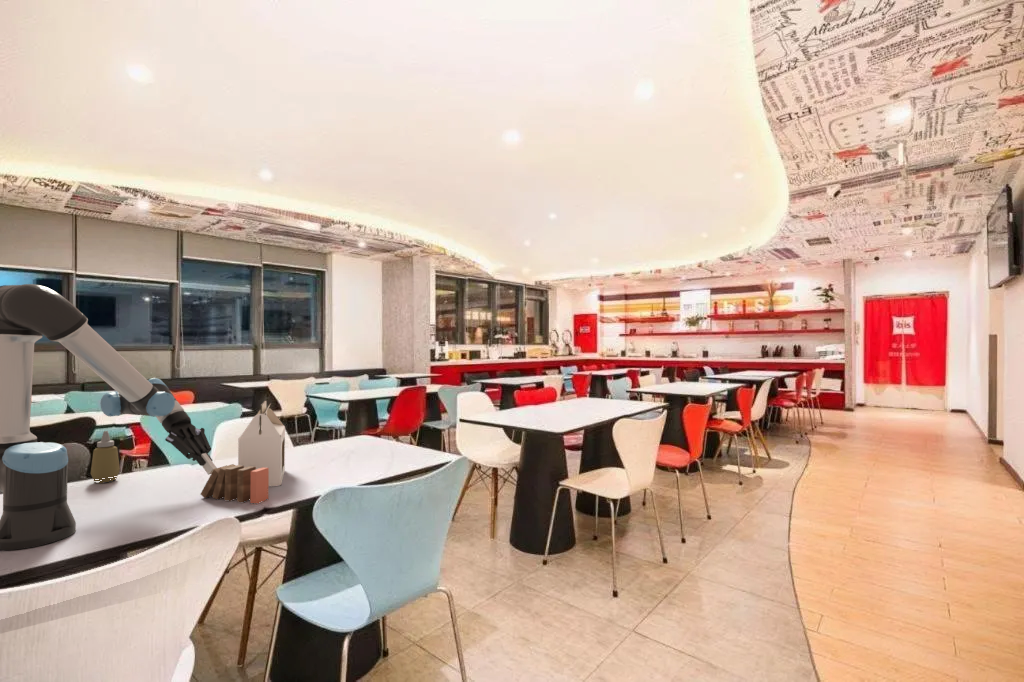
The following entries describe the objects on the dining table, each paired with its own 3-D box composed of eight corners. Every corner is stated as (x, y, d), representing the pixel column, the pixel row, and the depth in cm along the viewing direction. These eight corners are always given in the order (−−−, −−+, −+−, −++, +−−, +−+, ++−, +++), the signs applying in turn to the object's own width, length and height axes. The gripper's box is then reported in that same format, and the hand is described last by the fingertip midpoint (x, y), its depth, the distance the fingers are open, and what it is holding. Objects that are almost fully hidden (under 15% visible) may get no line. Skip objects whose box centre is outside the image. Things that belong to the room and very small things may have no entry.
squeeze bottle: (123, 480, 175) (124, 430, 175) (95, 486, 168) (95, 434, 168) (114, 477, 179) (115, 428, 180) (86, 482, 173) (87, 431, 173)
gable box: (281, 486, 170) (281, 405, 170) (237, 490, 165) (238, 407, 165) (284, 470, 190) (285, 398, 190) (246, 473, 185) (247, 400, 185)
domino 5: (250, 503, 151) (250, 471, 151) (262, 498, 155) (262, 467, 156) (256, 504, 150) (256, 471, 150) (268, 499, 155) (268, 467, 155)
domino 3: (224, 500, 153) (225, 468, 153) (237, 495, 158) (238, 465, 158) (230, 501, 153) (231, 469, 153) (242, 496, 158) (243, 465, 158)
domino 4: (237, 502, 152) (237, 470, 152) (249, 497, 157) (250, 466, 157) (243, 502, 151) (243, 470, 151) (255, 497, 156) (255, 466, 156)
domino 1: (200, 494, 156) (213, 469, 155) (213, 489, 161) (227, 465, 159) (204, 498, 155) (218, 473, 154) (218, 493, 160) (231, 469, 159)
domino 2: (212, 497, 155) (220, 467, 154) (225, 492, 159) (233, 464, 159) (217, 499, 154) (225, 470, 153) (230, 495, 159) (238, 466, 158)
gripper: (184, 422, 169) (222, 473, 165) (147, 428, 157) (187, 484, 152) (196, 407, 168) (235, 459, 163) (160, 412, 155) (201, 468, 151)
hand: (212, 471), depth 158 cm, fingers closed
